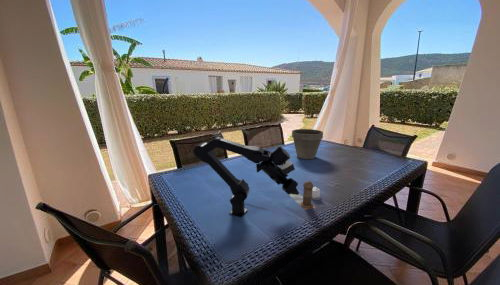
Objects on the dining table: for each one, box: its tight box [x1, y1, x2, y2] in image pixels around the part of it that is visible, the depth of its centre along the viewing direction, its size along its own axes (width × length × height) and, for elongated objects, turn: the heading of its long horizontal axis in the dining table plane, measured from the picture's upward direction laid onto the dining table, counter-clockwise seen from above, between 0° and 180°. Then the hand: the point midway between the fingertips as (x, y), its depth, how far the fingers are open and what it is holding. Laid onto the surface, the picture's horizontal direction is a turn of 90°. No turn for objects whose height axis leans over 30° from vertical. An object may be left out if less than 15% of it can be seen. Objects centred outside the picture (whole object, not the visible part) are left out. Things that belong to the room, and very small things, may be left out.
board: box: [288, 193, 316, 211], centre depth 114 cm, size 20×9×1 cm, turn 19°
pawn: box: [300, 180, 314, 209], centre depth 107 cm, size 6×6×13 cm
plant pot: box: [291, 128, 324, 160], centre depth 182 cm, size 25×25×22 cm
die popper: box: [311, 186, 322, 201], centre depth 116 cm, size 7×7×5 cm
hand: (293, 189), depth 103 cm, fingers open, 9 cm apart
